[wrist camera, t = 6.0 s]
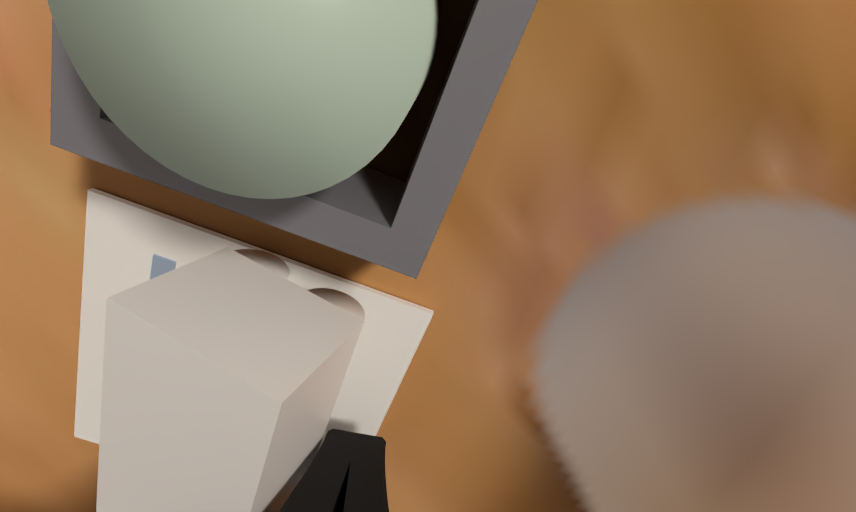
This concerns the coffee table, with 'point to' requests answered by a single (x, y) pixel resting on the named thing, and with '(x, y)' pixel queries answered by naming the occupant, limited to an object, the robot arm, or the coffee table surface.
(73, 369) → the coffee table surface
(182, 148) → the button
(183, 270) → the eraser
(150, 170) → the button housing
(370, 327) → the paper
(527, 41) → the coffee table surface
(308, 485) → the robot arm
